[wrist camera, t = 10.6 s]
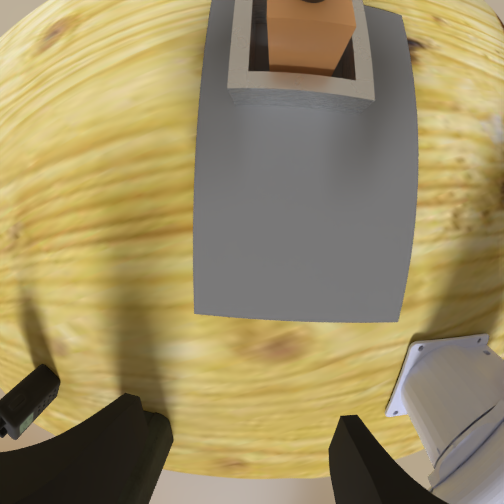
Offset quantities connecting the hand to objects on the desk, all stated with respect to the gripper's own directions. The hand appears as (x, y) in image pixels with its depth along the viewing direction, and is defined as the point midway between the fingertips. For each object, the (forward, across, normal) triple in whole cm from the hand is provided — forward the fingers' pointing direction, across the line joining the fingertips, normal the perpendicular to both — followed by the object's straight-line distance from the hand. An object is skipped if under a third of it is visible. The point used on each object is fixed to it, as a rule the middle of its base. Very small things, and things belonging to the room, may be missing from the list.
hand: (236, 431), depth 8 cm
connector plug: (+10, -2, -17) cm, 19 cm away
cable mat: (+10, -3, -12) cm, 16 cm away
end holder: (+10, -2, -17) cm, 20 cm away
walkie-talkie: (+11, +23, +12) cm, 28 cm away
